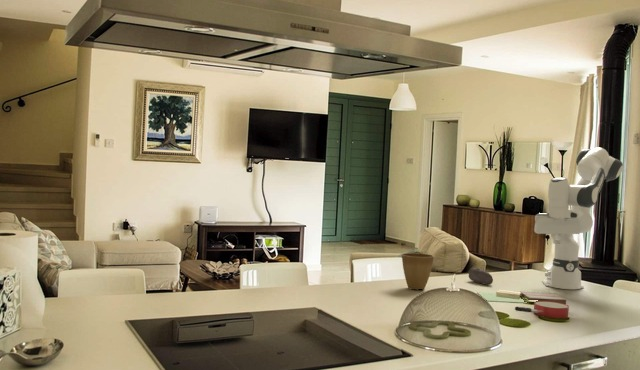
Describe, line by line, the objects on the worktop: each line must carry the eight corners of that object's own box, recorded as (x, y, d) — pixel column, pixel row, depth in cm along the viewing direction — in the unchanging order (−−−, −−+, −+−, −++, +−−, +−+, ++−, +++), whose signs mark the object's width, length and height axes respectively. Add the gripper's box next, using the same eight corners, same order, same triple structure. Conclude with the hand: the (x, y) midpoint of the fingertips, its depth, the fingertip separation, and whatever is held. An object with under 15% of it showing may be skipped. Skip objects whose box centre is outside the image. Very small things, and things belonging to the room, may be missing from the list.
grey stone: (495, 286, 308) (496, 272, 308) (487, 286, 306) (488, 272, 305) (475, 280, 321) (475, 267, 321) (467, 280, 319) (468, 267, 319)
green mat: (477, 292, 288) (477, 292, 288) (517, 294, 287) (517, 294, 287) (486, 301, 270) (486, 300, 270) (529, 303, 269) (529, 302, 269)
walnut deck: (519, 295, 285) (519, 291, 285) (554, 297, 285) (555, 293, 285) (529, 302, 271) (529, 297, 271) (566, 304, 271) (566, 299, 271)
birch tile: (498, 293, 286) (498, 289, 286) (520, 296, 282) (521, 292, 282) (496, 295, 281) (496, 291, 281) (519, 298, 277) (519, 294, 277)
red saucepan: (539, 328, 225) (540, 311, 225) (505, 321, 234) (506, 304, 234) (573, 316, 249) (574, 300, 248) (541, 309, 258) (542, 294, 257)
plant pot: (438, 289, 291) (440, 255, 290) (421, 293, 280) (422, 258, 279) (411, 284, 301) (413, 251, 300) (393, 288, 290) (395, 253, 289)
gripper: (537, 213, 279) (536, 244, 279) (582, 214, 279) (582, 244, 279) (532, 212, 285) (531, 242, 286) (577, 212, 285) (576, 242, 286)
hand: (557, 243), depth 283 cm, fingers closed
